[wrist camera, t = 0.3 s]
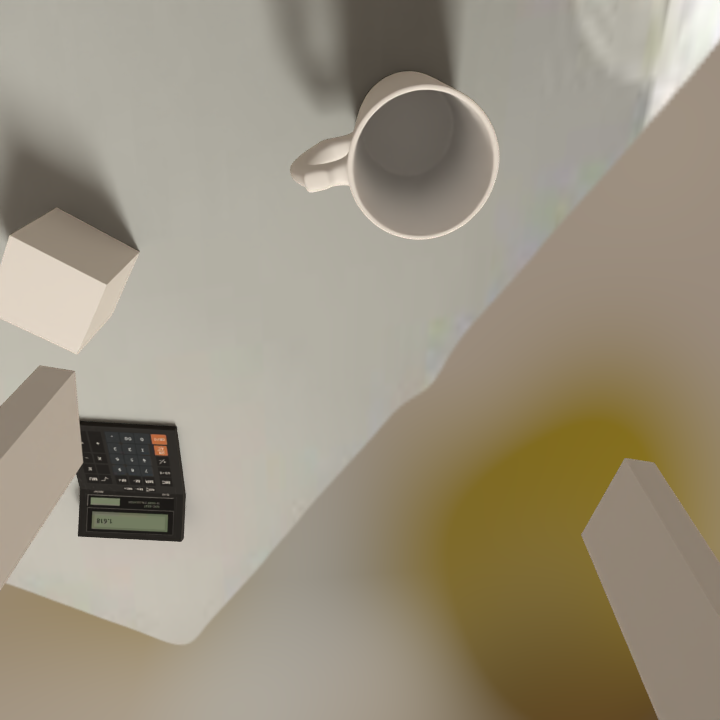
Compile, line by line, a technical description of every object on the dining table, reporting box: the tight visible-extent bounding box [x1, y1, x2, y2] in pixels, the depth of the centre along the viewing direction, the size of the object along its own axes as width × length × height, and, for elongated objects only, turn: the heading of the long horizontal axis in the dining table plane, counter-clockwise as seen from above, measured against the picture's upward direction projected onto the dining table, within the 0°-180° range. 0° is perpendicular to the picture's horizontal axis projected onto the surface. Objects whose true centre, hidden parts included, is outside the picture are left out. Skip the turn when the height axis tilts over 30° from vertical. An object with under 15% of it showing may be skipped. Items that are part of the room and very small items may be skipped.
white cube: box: [0, 208, 140, 355], centre depth 38 cm, size 6×6×6 cm
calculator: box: [76, 421, 186, 542], centre depth 50 cm, size 9×12×3 cm
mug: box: [290, 71, 499, 239], centre depth 30 cm, size 10×7×12 cm, turn 100°
